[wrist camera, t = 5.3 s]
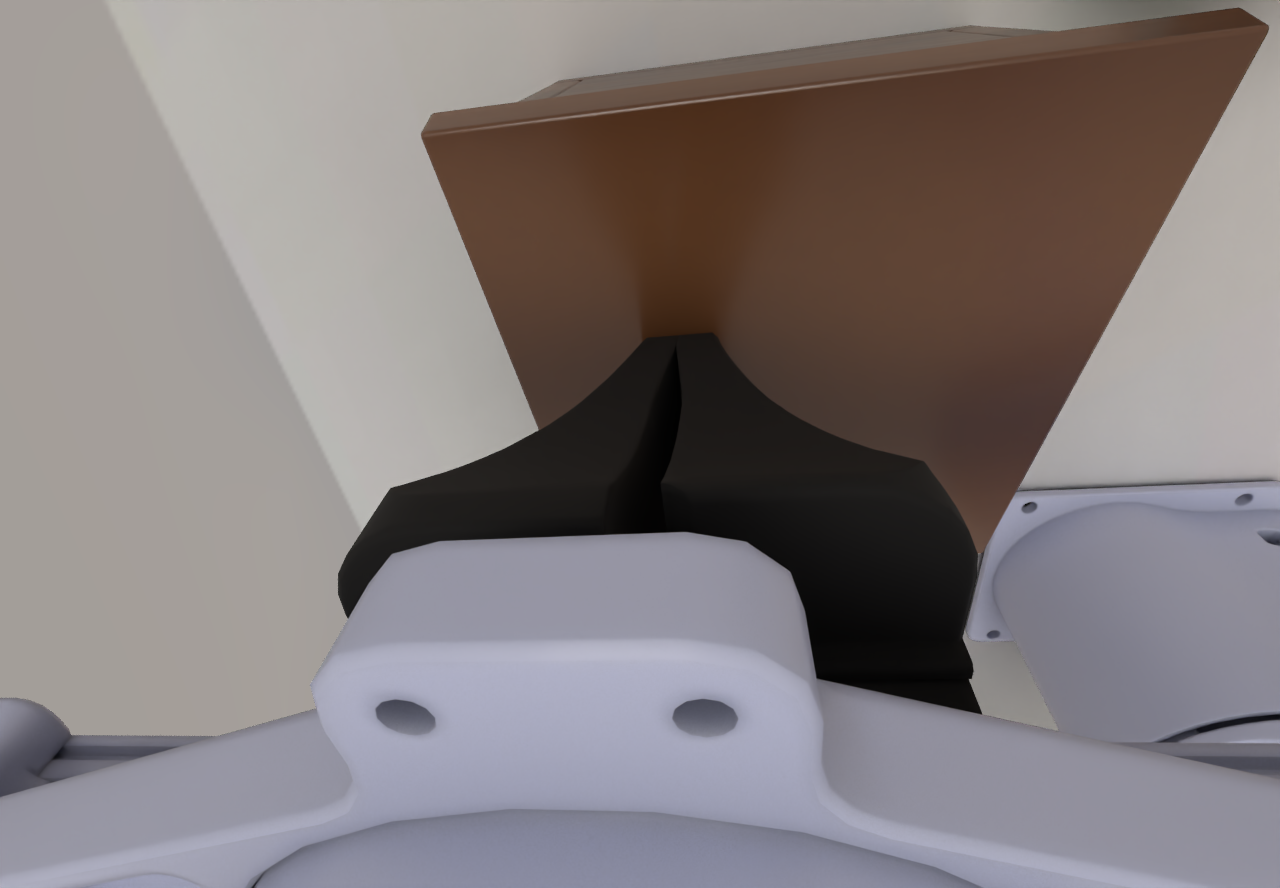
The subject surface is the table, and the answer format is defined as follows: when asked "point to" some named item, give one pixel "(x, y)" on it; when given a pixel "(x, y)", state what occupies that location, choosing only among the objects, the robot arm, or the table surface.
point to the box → (780, 59)
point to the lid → (851, 228)
